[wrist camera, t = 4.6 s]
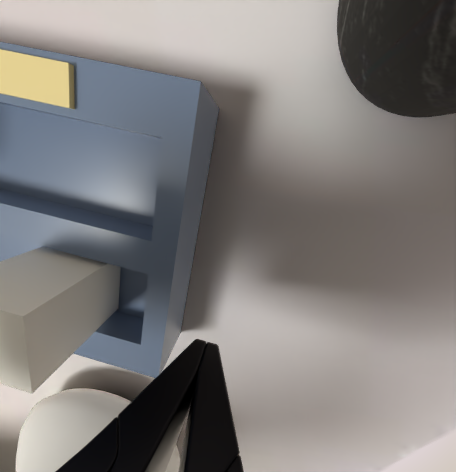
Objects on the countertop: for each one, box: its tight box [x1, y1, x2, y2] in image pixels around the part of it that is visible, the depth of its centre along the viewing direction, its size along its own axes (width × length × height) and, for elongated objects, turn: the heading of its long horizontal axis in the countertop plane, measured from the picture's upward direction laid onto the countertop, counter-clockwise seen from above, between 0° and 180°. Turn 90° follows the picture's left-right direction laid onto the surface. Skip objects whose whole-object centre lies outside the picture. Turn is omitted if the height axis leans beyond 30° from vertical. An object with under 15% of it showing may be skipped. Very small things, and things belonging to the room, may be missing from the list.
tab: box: [0, 246, 121, 393], centre depth 9 cm, size 3×3×4 cm
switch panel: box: [0, 42, 219, 378], centre depth 10 cm, size 12×16×3 cm
